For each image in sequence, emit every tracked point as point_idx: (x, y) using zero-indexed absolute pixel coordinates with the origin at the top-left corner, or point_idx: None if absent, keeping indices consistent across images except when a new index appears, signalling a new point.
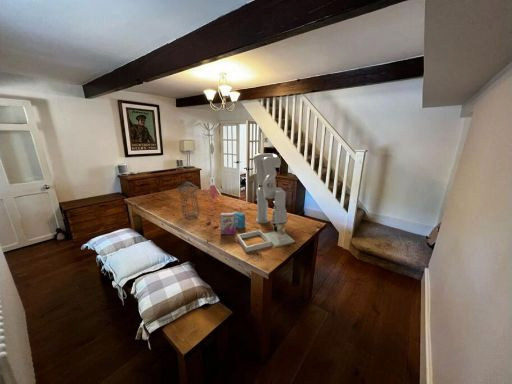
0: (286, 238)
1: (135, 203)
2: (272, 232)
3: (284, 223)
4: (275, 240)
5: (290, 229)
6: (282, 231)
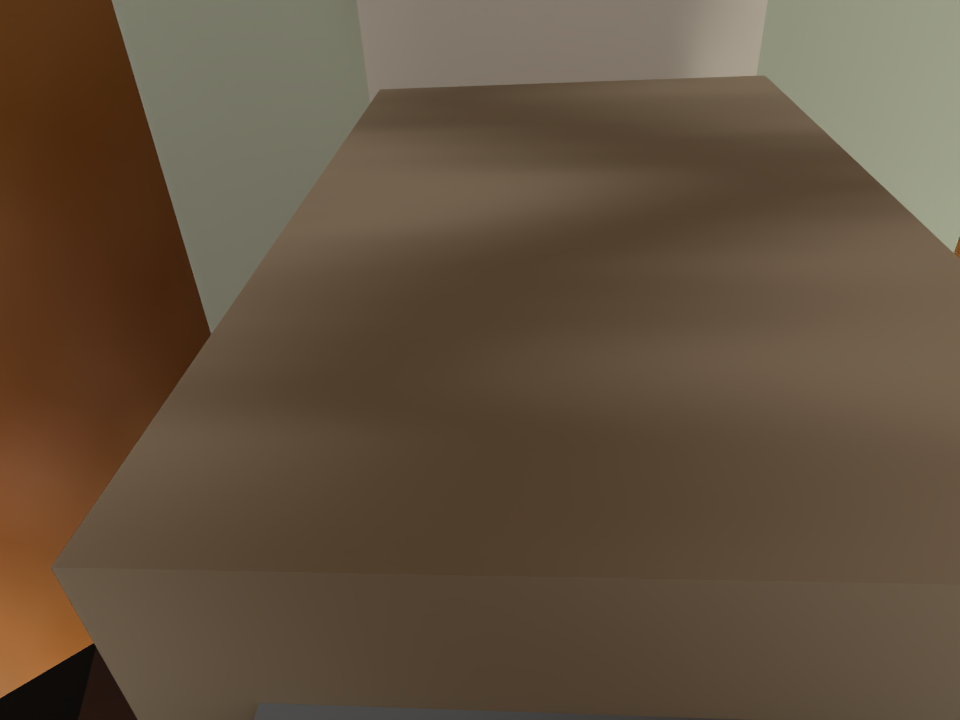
0: (323, 43)
1: None
2: None
3: (109, 699)
4: (817, 67)
5: (20, 505)
6: (527, 143)
